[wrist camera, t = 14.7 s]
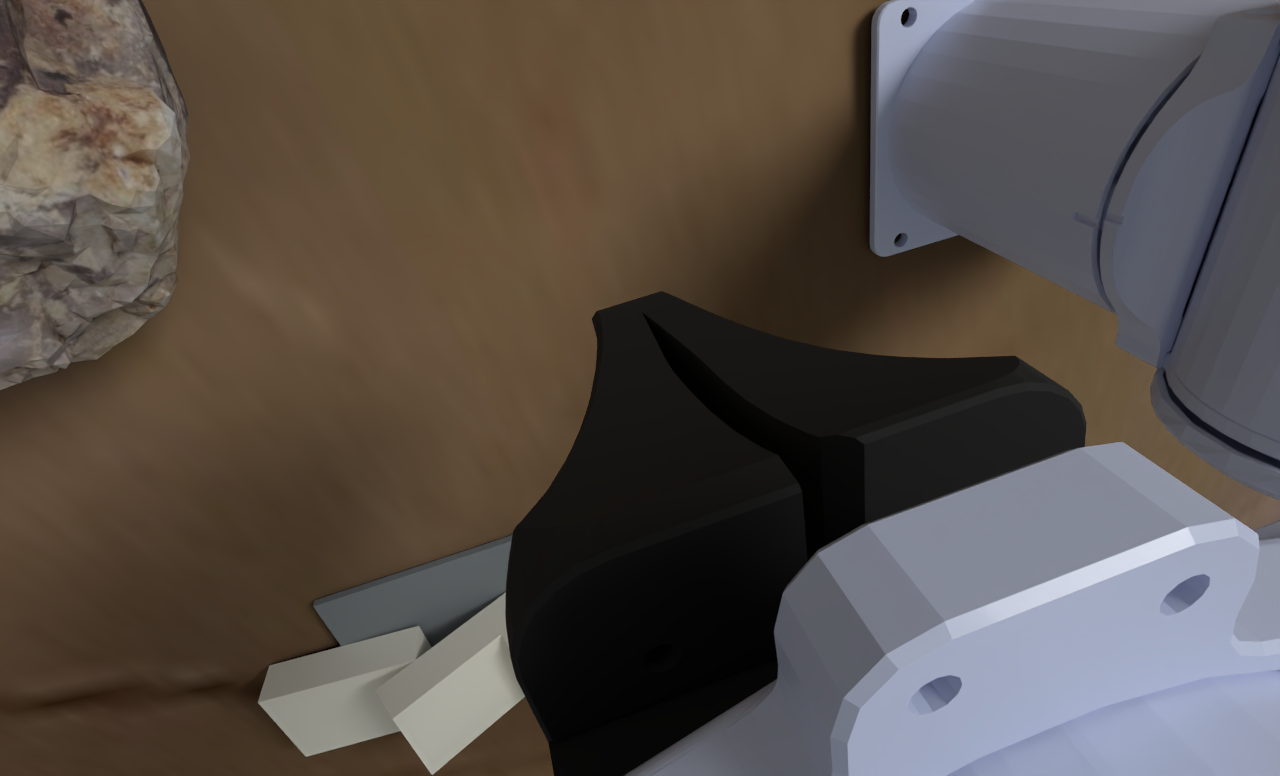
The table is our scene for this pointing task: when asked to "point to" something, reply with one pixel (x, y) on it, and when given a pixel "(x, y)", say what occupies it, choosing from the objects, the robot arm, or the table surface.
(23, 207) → the rock
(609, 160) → the table surface
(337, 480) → the table surface
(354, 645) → the domino
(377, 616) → the mat
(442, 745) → the domino
